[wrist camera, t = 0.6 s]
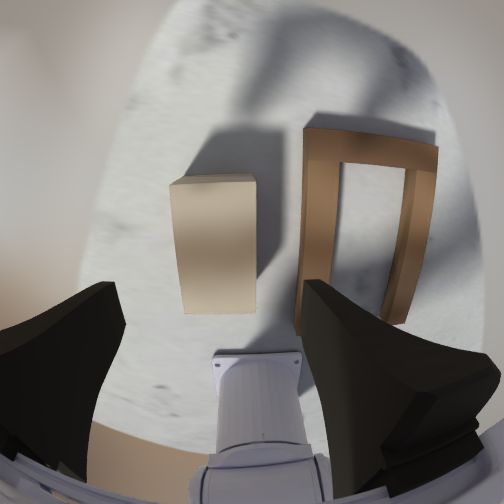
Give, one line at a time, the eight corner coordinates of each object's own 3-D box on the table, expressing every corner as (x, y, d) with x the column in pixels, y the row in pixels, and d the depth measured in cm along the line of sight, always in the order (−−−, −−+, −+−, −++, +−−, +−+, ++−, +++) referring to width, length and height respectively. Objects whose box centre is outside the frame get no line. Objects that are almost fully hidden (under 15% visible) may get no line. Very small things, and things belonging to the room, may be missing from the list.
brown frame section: (397, 313, 22) (404, 323, 21) (293, 324, 22) (296, 335, 21) (426, 144, 16) (438, 146, 15) (303, 128, 16) (308, 127, 15)
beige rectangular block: (253, 282, 21) (256, 313, 17) (193, 283, 20) (184, 314, 17) (252, 173, 17) (256, 181, 14) (184, 175, 17) (169, 185, 14)
